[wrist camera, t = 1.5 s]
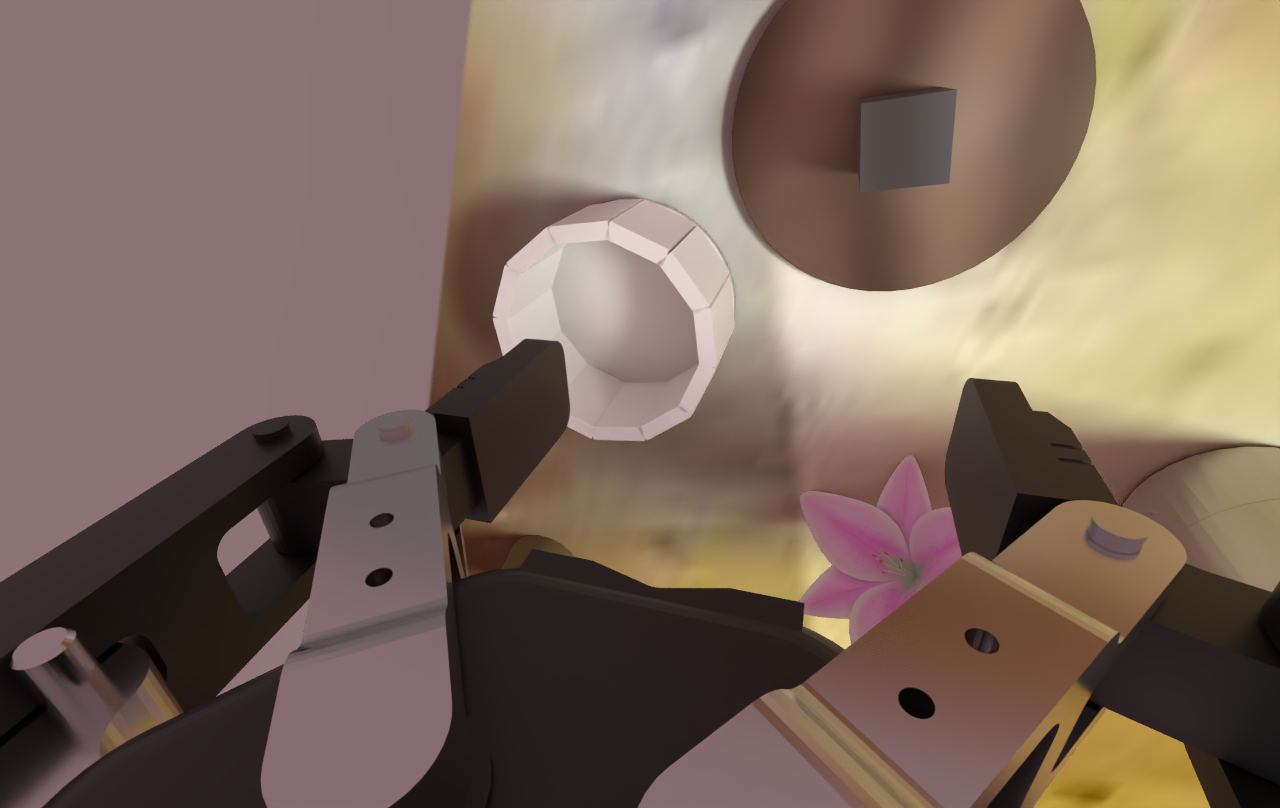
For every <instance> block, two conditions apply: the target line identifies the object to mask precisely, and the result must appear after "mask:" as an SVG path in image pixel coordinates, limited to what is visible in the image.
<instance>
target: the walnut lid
mask: <svg viewBox="0 0 1280 808" xmlns="http://www.w3.org/2000/svg"><path fill="white" fill-rule="evenodd" d="M1095 86H1096V60H1095V49H1094V44H1093V39H1092V34H1091V29H1090V25H1089V23H1088V20H1087V17H1086V15H1085V12H1084V9H1083V7H1082V4H1081V2H1080V0H787V2H786V3H785V4H784V6H783V7H782V8H781V9H780V11H779V12H778V13H777V14H776V16H775V17H774V18H773V19H772V21H771V23H770V24H769V26H768V27H767V29H766V31H765V32H764V34H763V36H762V37H761V39H760V40H759V42H758V44H757V46H756V48H755V50H754V52H753V55H752V57H751V59H750V61H749V63H748V65H747V68H746V71H745V74H744V77H743V80H742V82H741V85H740V89H739V93H738V98H737V102H736V106H735V112H734V121H733V130H732V149H733V161H734V168H735V175H736V179H737V183H738V186H739V190H740V194H741V196H742V199H743V201H744V204H745V206H746V209H747V211H748V213H749V215H750V216H751V218H752V220H753V222H754V223H755V225H756V227H757V229H758V230H759V231H760V233H761V234H762V235H763V236H764V238H765V239H766V240H767V242H768V243H769V244H770V245H771V246H772V247H773V248H774V249H775V250H776V251H777V252H778V253H779V254H780V255H781V256H782V257H783V258H785V259H786V260H787V261H789V262H790V263H791V264H793V265H794V266H795V267H797V268H799V269H800V270H802V271H804V272H806V273H807V274H809V275H811V276H813V277H815V278H818V279H820V280H823V281H825V282H828V283H830V284H834V285H838V286H842V287H845V288H849V289H857V290H865V291H896V290H905V289H912V288H917V287H921V286H926V285H930V284H934V283H936V282H939V281H942V280H945V279H948V278H951V277H954V276H956V275H958V274H960V273H962V272H964V271H966V270H969V269H971V268H973V267H975V266H976V265H978V264H980V263H981V262H983V261H985V260H986V259H988V258H990V257H991V256H993V255H995V254H996V253H997V252H999V251H1000V250H1001V249H1003V248H1004V247H1005V246H1007V245H1008V244H1009V243H1010V242H1012V241H1013V240H1014V239H1016V238H1017V237H1018V236H1019V235H1020V234H1021V233H1022V232H1023V231H1024V230H1025V229H1026V228H1027V227H1028V226H1029V225H1030V224H1031V223H1033V221H1034V220H1035V219H1036V218H1037V217H1038V216H1039V214H1040V213H1041V212H1042V211H1043V210H1044V209H1045V207H1046V206H1047V205H1048V204H1049V203H1050V202H1051V200H1052V199H1053V197H1054V196H1055V194H1056V193H1057V191H1058V190H1059V188H1060V187H1061V185H1062V184H1063V182H1064V181H1065V179H1066V177H1067V176H1068V174H1069V172H1070V170H1071V168H1072V166H1073V164H1074V162H1075V160H1076V158H1077V156H1078V154H1079V151H1080V149H1081V146H1082V143H1083V141H1084V138H1085V136H1086V133H1087V130H1088V126H1089V122H1090V117H1091V113H1092V109H1093V104H1094V95H1095Z"/></svg>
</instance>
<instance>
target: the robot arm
mask: <svg viewBox="0 0 1280 808" xmlns="http://www.w3.org/2000/svg"><path fill="white" fill-rule="evenodd" d="M569 416H570V400H569V391H568V382H567V373H566V364H565V355H564V350H563V347H562V345H561V343H560V342H558V341H551V340H540V339H528V338H526V339H524V340H522V341H521V342H520V343H519V344H518V345H516V346H515V347H514V348H513V349H511V350H510V351H509V352H508V353H506V354H505V355H504V356H503V357H501V358H500V359H497V360H495V361H493V362H490V363H488V364H486V365H483V366H482V367H480V368H479V369H478V370H476V371H475V372H474V373H473V374H471V375H470V376H469V377H468V379H465V380H464V381H463V382H461V383H460V384H459V385H457V388H454V389H452V390H451V391H450V392H449V393H447V394H446V395H445V396H444V397H442V398H441V399H440V400H438V401H437V402H436V403H435V404H433V405H432V406H431V407H430V408H428V409H427V410H426V411H425V412H424V411H419V410H402V411H396V412H391V413H387V414H384V415H381V416H378V417H376V418H374V419H372V420H370V421H368V422H366V423H365V424H363V425H362V426H361V427H360V428H359V429H358V430H357V431H356V433H355V435H354V439H345V440H344V439H343V440H325V441H322V440H321V438H320V435H319V432H318V429H317V426H316V424H315V421H314V420H312V419H311V418H309V417H306V416H296V415H295V416H283V417H278V418H273V419H269V420H266V421H263V422H260V423H257V424H255V425H252V426H250V427H248V428H246V429H245V430H243V431H241V432H240V433H238V434H236V435H235V436H233V437H232V438H230V439H228V440H227V441H225V442H223V443H222V444H220V445H219V446H217V447H215V448H214V449H212V450H211V451H209V452H207V453H206V454H204V455H203V456H201V457H200V458H198V459H196V460H195V461H193V462H192V463H190V464H189V465H187V466H185V467H184V468H182V469H180V470H179V471H177V472H176V473H174V474H172V475H171V476H169V477H168V478H166V479H164V480H163V481H161V482H160V483H158V484H156V485H155V486H153V487H152V488H150V489H149V490H147V491H145V492H144V493H142V494H141V495H139V496H138V497H136V498H134V499H133V500H131V501H130V502H128V503H126V504H125V505H123V506H121V507H120V508H118V509H117V510H115V511H114V512H112V513H110V514H109V515H107V516H105V517H104V518H102V519H101V520H99V521H97V522H96V523H94V524H93V525H91V526H90V527H88V528H86V529H85V530H83V531H82V532H80V533H78V534H77V535H75V536H74V537H72V538H70V539H69V540H67V541H66V542H64V543H62V544H61V545H59V546H58V547H56V548H54V549H53V550H52V551H50V552H48V553H47V554H45V555H43V556H42V557H40V558H38V559H37V560H35V561H34V562H32V563H30V564H29V565H27V566H26V567H24V568H22V569H21V570H19V571H18V572H16V573H15V574H13V575H11V576H10V577H8V578H7V579H5V580H4V581H2V582H0V808H1034V806H1035V805H1036V803H1037V802H1038V800H1039V799H1040V797H1041V796H1042V794H1043V793H1044V792H1045V790H1046V789H1047V788H1048V786H1049V785H1050V784H1051V782H1052V781H1053V780H1054V778H1055V777H1056V776H1057V774H1058V773H1059V772H1060V770H1061V769H1062V768H1063V766H1064V765H1065V764H1066V762H1067V761H1068V760H1069V758H1070V757H1071V756H1072V754H1073V753H1074V752H1075V750H1076V749H1077V748H1078V747H1079V745H1080V744H1081V743H1082V741H1083V740H1084V739H1085V737H1086V736H1087V735H1088V733H1089V732H1090V731H1091V729H1092V728H1093V727H1094V725H1095V724H1096V723H1097V721H1098V720H1099V719H1100V717H1101V716H1102V715H1103V713H1104V712H1105V710H1106V708H1107V709H1109V710H1111V711H1114V712H1116V713H1118V714H1120V715H1123V716H1125V717H1127V718H1129V719H1132V720H1134V721H1136V722H1138V723H1141V724H1143V725H1145V726H1147V727H1150V728H1152V729H1154V730H1156V731H1159V732H1161V733H1163V734H1165V735H1168V736H1170V737H1172V738H1174V739H1177V740H1179V741H1181V742H1183V743H1184V745H1185V748H1186V751H1187V753H1188V755H1189V758H1190V760H1191V763H1192V765H1193V767H1194V770H1195V772H1196V774H1197V777H1198V779H1199V781H1200V784H1201V786H1202V788H1203V791H1204V793H1205V795H1206V798H1207V800H1208V802H1209V805H1210V807H1211V808H1280V448H1275V447H1238V448H1228V449H1219V450H1215V451H1211V452H1207V453H1203V454H1199V455H1195V456H1192V457H1189V458H1187V459H1184V460H1181V461H1179V462H1176V463H1174V464H1171V465H1169V466H1167V467H1166V468H1164V469H1162V470H1161V471H1159V472H1157V473H1155V474H1154V475H1152V476H1150V477H1149V478H1148V479H1147V480H1145V481H1144V482H1143V483H1142V484H1141V485H1139V486H1138V487H1137V488H1136V489H1135V490H1134V491H1133V492H1132V493H1131V495H1130V496H1129V497H1128V498H1127V500H1126V501H1125V502H1124V504H1123V505H1122V507H1120V506H1119V505H1118V504H1117V502H1116V501H1115V499H1114V497H1113V496H1112V494H1111V492H1110V491H1109V489H1108V488H1107V486H1106V484H1105V483H1104V481H1103V480H1102V478H1101V476H1100V475H1099V473H1098V471H1097V470H1096V468H1095V467H1094V465H1091V460H1090V459H1089V457H1088V455H1087V454H1086V452H1085V451H1084V450H1082V446H1081V444H1080V442H1079V441H1078V439H1077V438H1076V436H1075V434H1074V433H1073V431H1072V430H1071V428H1069V427H1068V426H1066V425H1065V424H1064V423H1062V422H1061V421H1059V420H1058V419H1057V418H1055V417H1054V416H1052V415H1051V414H1049V413H1048V412H1040V411H1032V409H1031V407H1030V405H1029V404H1028V402H1027V400H1026V398H1025V396H1024V394H1023V392H1022V391H1021V389H1020V387H1019V385H1018V384H1017V383H1016V382H1009V381H997V380H986V379H975V378H969V379H968V380H967V381H966V383H965V385H964V388H963V391H962V395H961V399H960V403H959V407H958V411H957V415H956V419H955V423H954V427H953V431H952V435H951V439H950V443H949V447H948V451H947V456H946V463H945V484H946V489H947V493H948V498H949V502H950V506H951V511H952V515H953V520H954V524H955V528H956V533H957V537H958V541H959V546H960V550H961V554H962V557H961V558H960V559H959V560H957V561H956V562H955V563H954V564H952V565H951V566H950V567H949V568H947V569H946V570H945V571H944V572H942V573H941V574H940V575H939V576H937V577H936V578H935V579H933V580H932V581H931V582H930V583H928V584H927V585H926V586H925V587H923V588H922V589H921V590H920V591H918V592H917V593H916V594H915V595H913V596H912V597H911V598H910V599H908V600H907V601H906V602H905V603H903V604H902V605H901V606H899V607H898V608H897V609H896V610H894V611H893V612H892V613H891V614H889V615H888V616H887V617H886V618H884V619H883V620H882V621H881V622H879V623H878V624H877V625H876V626H874V627H873V628H872V629H871V630H869V631H868V632H867V633H865V634H864V635H863V636H862V637H860V638H859V639H858V640H857V641H855V642H854V643H853V644H852V645H850V646H849V647H848V648H847V649H843V648H842V647H840V646H839V645H837V644H836V643H834V642H833V641H831V640H829V639H827V638H825V637H824V636H822V635H820V634H818V633H816V632H814V631H812V630H810V629H808V628H806V627H803V615H804V604H805V603H802V602H797V601H791V600H786V599H781V598H776V597H771V596H766V595H761V594H756V593H751V592H746V591H741V590H736V589H731V588H655V587H651V586H648V585H646V584H644V583H641V582H639V581H637V580H635V579H632V578H630V577H628V576H626V575H623V574H621V573H619V572H617V571H614V570H612V569H610V568H608V567H605V566H603V565H601V564H599V563H596V562H594V561H591V560H586V559H581V558H576V557H571V556H566V555H561V554H556V553H551V552H546V551H541V550H536V549H532V550H531V552H530V553H529V555H528V556H527V557H526V559H525V560H524V562H523V563H522V565H521V566H520V568H507V569H497V570H492V571H487V572H482V573H479V574H475V575H472V576H469V574H468V567H467V560H466V552H465V545H464V538H463V534H462V530H461V525H460V524H461V523H462V522H463V521H464V520H465V518H466V519H471V520H476V521H482V522H487V523H491V522H492V521H493V520H494V518H495V517H496V516H497V515H498V513H499V512H500V511H501V510H502V508H503V507H504V506H505V505H506V504H507V502H508V501H509V500H510V499H511V497H512V496H513V495H514V494H515V492H516V491H517V490H518V489H519V487H520V486H521V485H522V484H523V482H524V481H525V480H526V479H527V477H528V476H529V475H530V474H531V472H532V471H533V470H534V469H535V467H536V466H537V465H538V464H539V462H540V461H541V460H542V459H543V458H544V456H545V455H546V454H547V453H548V451H549V450H550V449H551V448H552V446H553V445H554V444H555V443H556V441H557V440H558V439H559V438H560V436H561V435H562V434H563V433H564V431H565V429H566V427H567V425H568V421H569ZM256 508H257V509H258V511H259V513H260V516H261V518H262V520H263V522H264V525H265V527H266V529H267V531H268V534H269V536H270V539H268V540H267V541H266V542H265V543H264V544H263V545H262V546H260V547H259V548H258V549H257V550H256V551H255V552H253V553H252V554H251V555H250V556H249V557H248V558H246V559H245V560H244V561H243V562H242V563H241V564H239V565H238V566H237V567H236V568H235V569H234V570H232V571H231V572H230V573H229V574H228V575H227V576H225V574H224V572H223V570H222V569H221V567H220V565H219V562H218V559H217V550H218V545H219V543H220V541H221V539H222V537H223V536H224V535H225V533H226V532H227V531H228V530H230V529H231V528H232V527H233V526H235V525H236V524H237V523H238V522H240V521H241V520H242V519H243V518H245V517H246V516H247V515H249V514H250V513H251V512H252V511H254V510H255V509H256ZM309 598H310V600H309V605H308V611H307V616H306V622H305V627H304V633H303V638H302V642H301V644H300V646H299V648H298V649H297V650H294V651H292V652H291V653H290V654H289V655H288V657H287V659H286V661H285V663H284V664H283V665H281V666H279V667H277V668H275V669H273V670H270V671H268V672H266V673H264V674H262V675H260V676H258V677H256V678H254V679H252V680H250V681H248V682H246V683H244V684H242V685H239V686H237V687H235V688H233V689H231V690H229V691H228V692H225V693H223V694H221V695H219V696H217V695H218V694H219V693H220V691H221V690H222V689H223V688H224V687H225V686H226V685H227V684H228V683H229V682H230V681H231V680H232V679H233V678H234V677H235V676H236V674H237V673H239V672H240V670H241V669H242V668H243V667H244V666H245V665H246V664H247V663H248V662H249V661H250V660H251V659H252V658H253V657H254V656H255V655H256V654H257V652H259V650H261V648H262V647H263V646H264V645H265V644H266V643H267V642H268V641H269V640H270V639H271V638H272V637H273V636H274V635H275V634H276V633H277V632H278V631H279V630H280V629H281V628H282V626H283V625H284V624H285V623H286V622H287V621H288V620H289V619H290V618H291V617H292V616H293V615H294V614H295V613H296V612H297V611H298V610H299V609H300V608H301V607H302V606H303V604H304V603H305V602H306V601H307V600H308V599H309ZM216 696H217V697H216Z"/></svg>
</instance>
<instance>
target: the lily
mask: <svg viewBox="0 0 1280 808" xmlns="http://www.w3.org/2000/svg"><path fill="white" fill-rule="evenodd" d="M800 504H801V508H802V511H803V514H804V517H805V519H806V522H807V524H808V526H809V528H810V530H811V532H812V535H813V537H814V539H815V541H816V542H817V544H818V546H819V548H820V550H821V551H822V553H823V554H824V555H825V557H826V558H827V559H828V560H829V562H830V563H831V564H832V566H831V567H830V568H828V569H827V570H826V571H825V572H824V573H823V574H821V575H820V577H819V578H818V579H817V580H816V581H815V582H814V583H813V584H812V585H811V586H810V587H809V589H808V590H807V591H806V592H805V594H804V595H803V596H802V598H801V599H800V601H799V602H802V603H805V604H804V614H806V615H811V616H817V617H826V618H838V619H850V620H849V634H850V640H851V645H852V644H853V643H854V642H855V641H857V640H858V639H859V638H860V637H862V636H863V635H864V634H865V633H867V632H868V631H869V630H871V629H872V628H873V627H874V626H876V625H877V624H878V623H879V622H881V621H882V620H883V619H884V618H886V617H887V616H888V615H889V614H891V613H892V612H893V611H894V610H896V609H897V608H898V607H899V606H901V605H902V604H903V603H905V602H906V601H907V600H908V599H910V598H911V597H912V596H913V595H915V594H916V593H917V592H918V591H920V590H921V589H922V588H923V587H925V586H926V585H927V584H928V583H930V582H931V581H932V580H933V579H935V578H936V577H937V576H939V575H940V574H941V573H942V572H944V571H945V570H946V569H947V568H949V567H950V566H951V565H952V564H954V563H955V562H956V561H957V560H959V559H960V558H961V557H962V554H961V550H960V546H959V541H958V537H957V533H956V528H955V524H954V520H953V515H952V511H951V507H942V508H939V509H935V510H932V507H931V503H930V499H929V495H928V492H927V489H926V485H925V482H924V479H923V476H922V473H921V471H920V468H919V465H918V463H917V461H916V459H915V457H914V456H912V455H910V456H907V457H905V458H904V459H903V460H902V461H901V462H900V463H899V465H898V466H897V468H896V469H895V471H894V472H893V474H892V475H891V477H890V478H889V480H888V482H887V484H886V486H885V487H884V489H883V491H882V493H881V495H880V498H879V500H878V502H877V505H876V507H875V506H873V505H871V504H868V503H866V502H863V501H861V500H857V499H853V498H849V497H845V496H841V495H836V494H832V493H826V492H819V491H807V492H805V493H803V494H802V495H800Z"/></svg>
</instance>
